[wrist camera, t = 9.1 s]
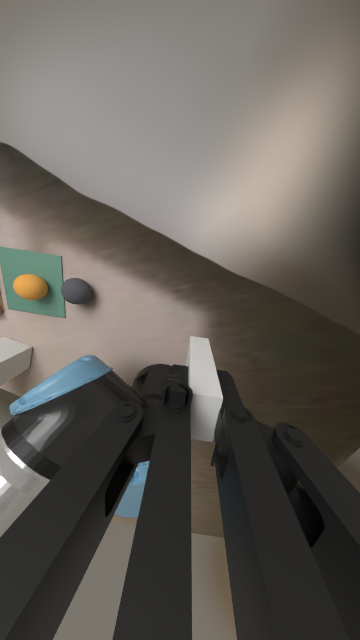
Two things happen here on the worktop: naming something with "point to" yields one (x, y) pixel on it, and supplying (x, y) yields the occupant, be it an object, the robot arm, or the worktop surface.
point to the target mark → (40, 266)
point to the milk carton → (13, 358)
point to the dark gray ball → (76, 291)
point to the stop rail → (1, 305)
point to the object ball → (30, 287)
